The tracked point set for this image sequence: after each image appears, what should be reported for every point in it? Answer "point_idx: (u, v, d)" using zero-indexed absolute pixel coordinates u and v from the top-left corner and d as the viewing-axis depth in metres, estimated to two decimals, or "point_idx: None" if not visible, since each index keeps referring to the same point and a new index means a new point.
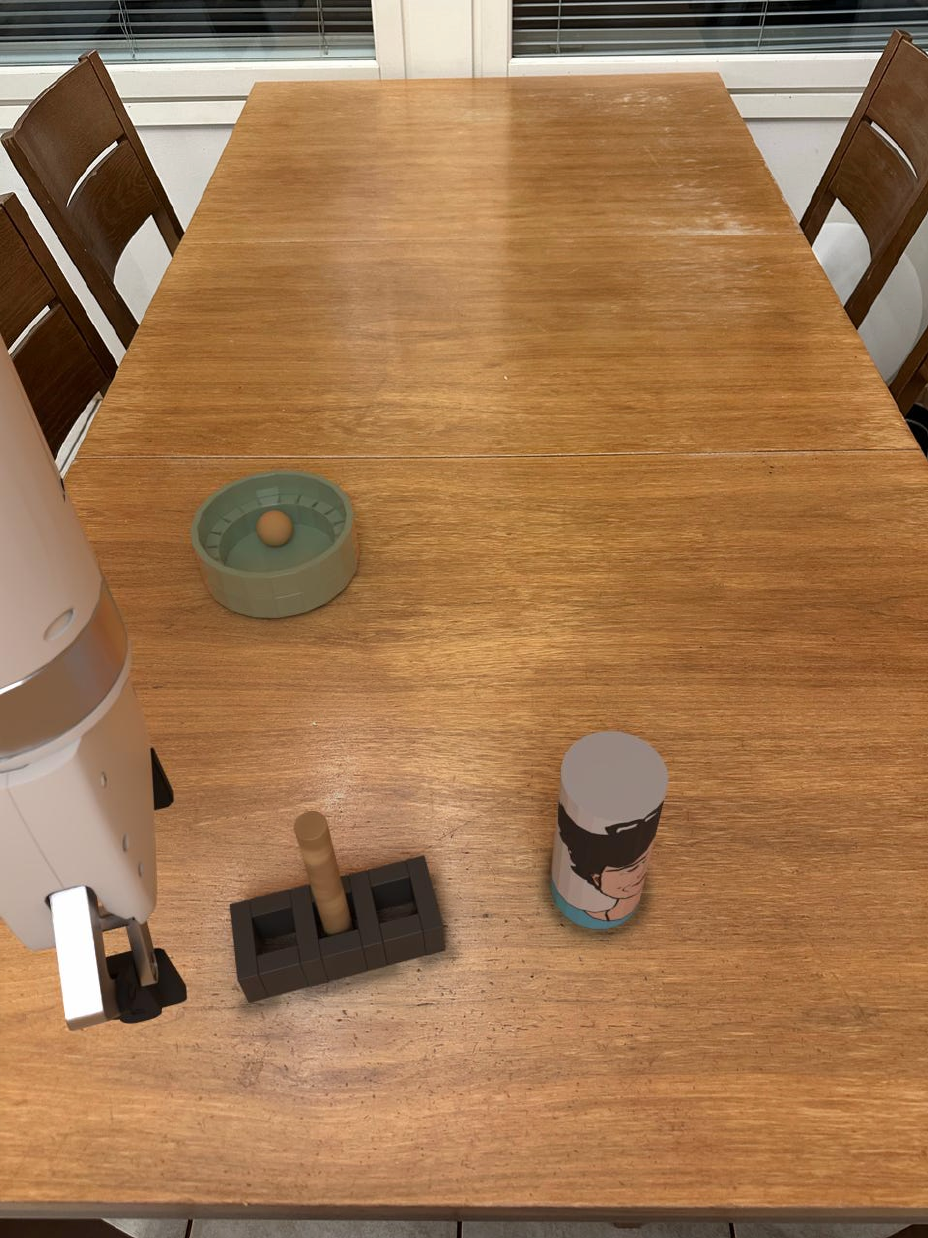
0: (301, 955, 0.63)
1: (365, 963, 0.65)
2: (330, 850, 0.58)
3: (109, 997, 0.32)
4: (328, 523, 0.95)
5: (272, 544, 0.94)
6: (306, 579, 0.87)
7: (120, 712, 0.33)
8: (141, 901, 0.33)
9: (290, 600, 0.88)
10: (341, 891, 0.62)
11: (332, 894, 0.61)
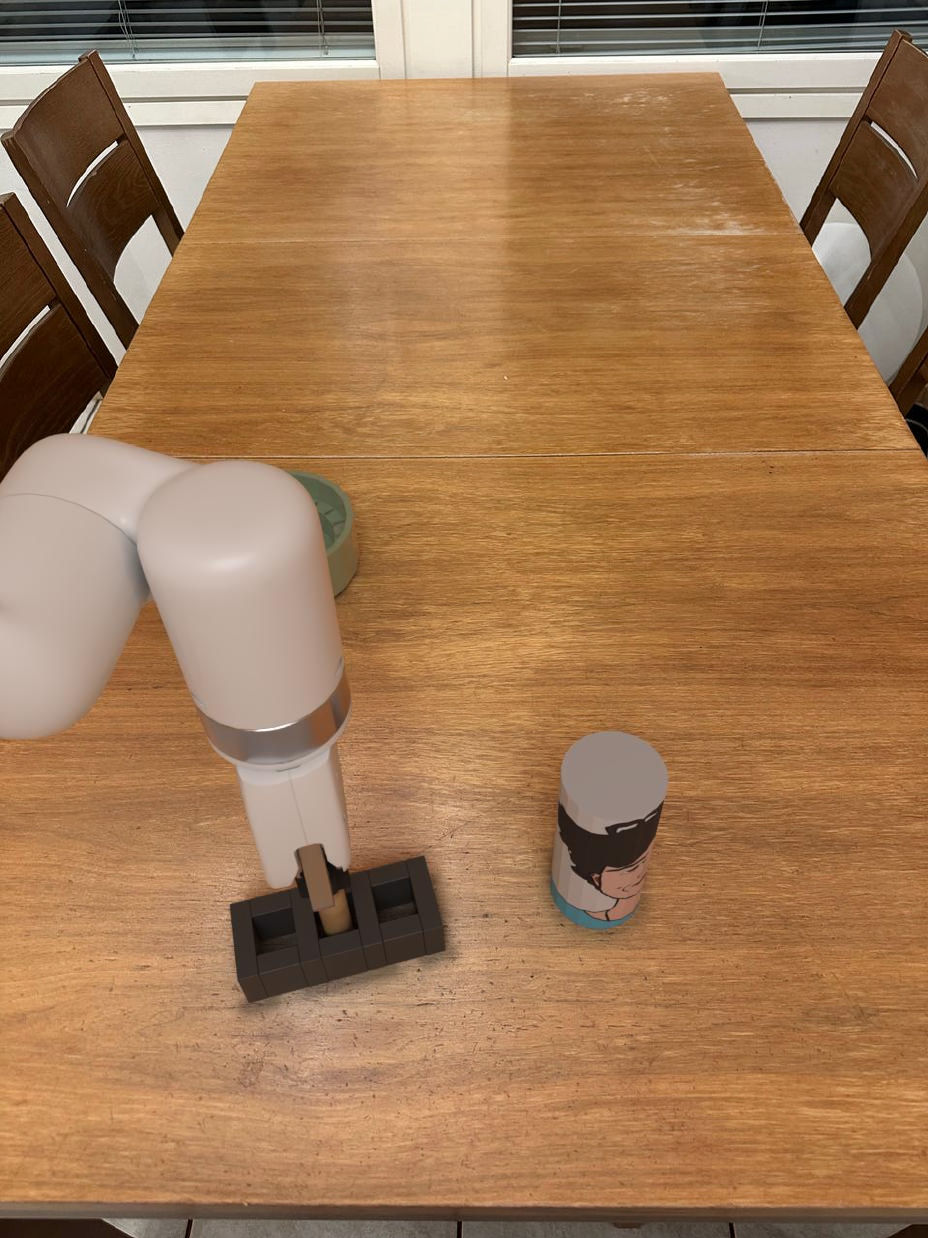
0: (301, 955, 0.63)
1: (365, 963, 0.65)
2: None
3: (331, 889, 0.52)
4: (328, 523, 0.95)
5: None
6: None
7: None
8: (347, 855, 0.51)
9: None
10: (341, 891, 0.62)
11: None
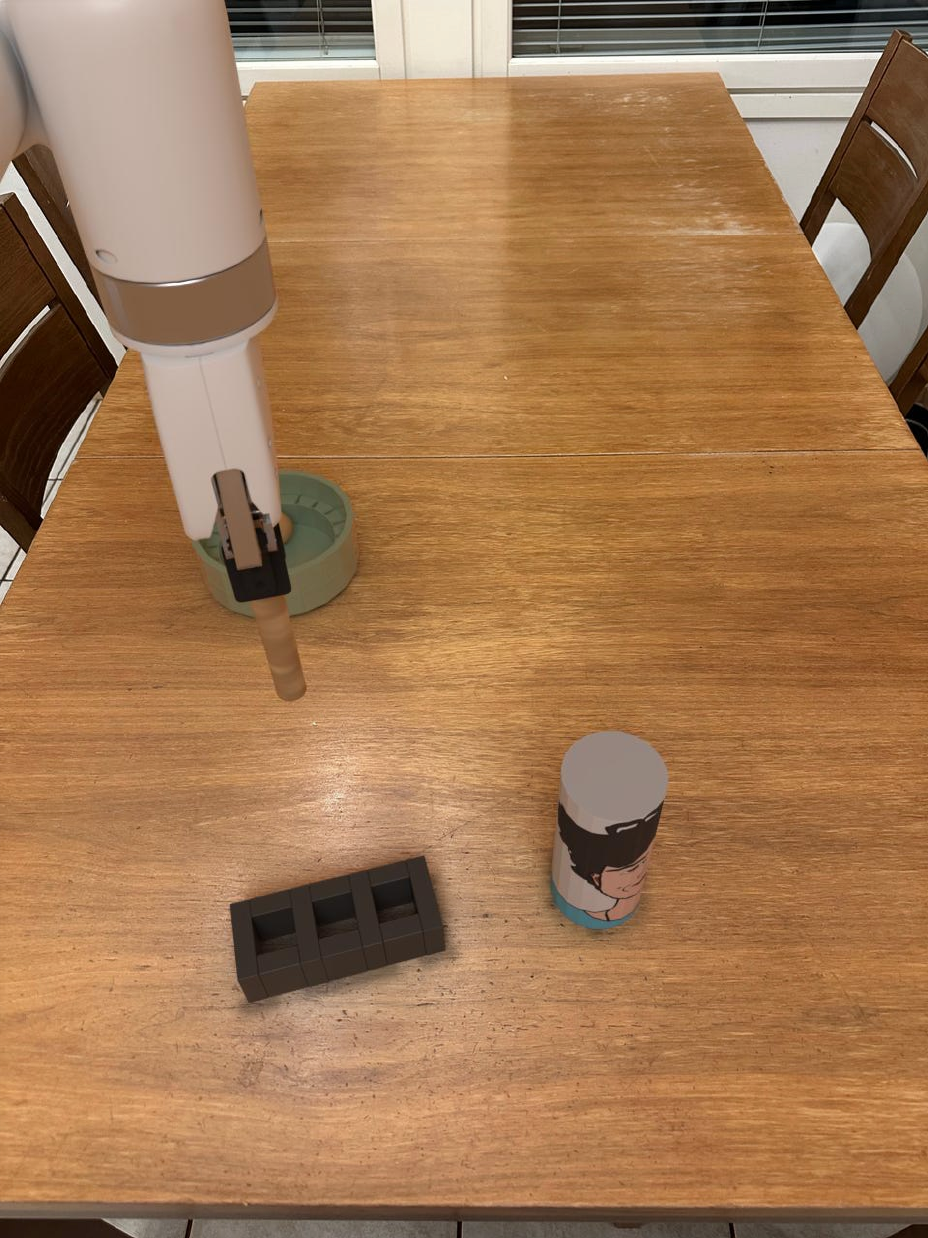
0: (301, 955, 0.63)
1: (365, 963, 0.65)
2: None
3: (259, 548, 0.47)
4: (328, 523, 0.95)
5: None
6: (306, 579, 0.87)
7: (262, 360, 0.45)
8: (275, 499, 0.45)
9: (290, 600, 0.88)
10: (284, 610, 0.57)
11: (274, 608, 0.56)
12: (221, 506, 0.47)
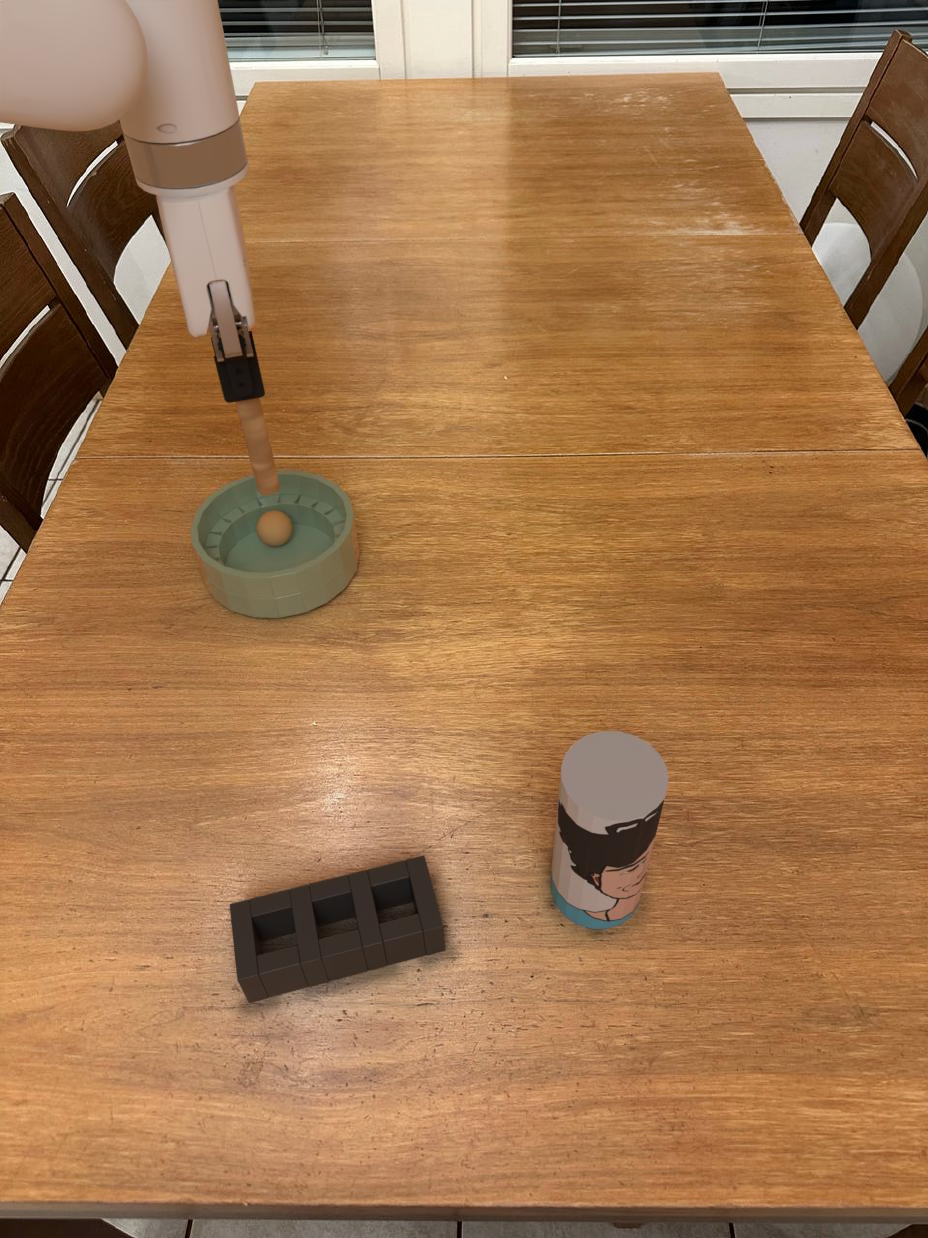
0: (301, 955, 0.63)
1: (365, 963, 0.65)
2: None
3: None
4: (328, 523, 0.95)
5: (272, 544, 0.94)
6: (306, 579, 0.87)
7: None
8: (250, 305, 0.66)
9: (290, 600, 0.88)
10: (261, 414, 0.78)
11: (253, 410, 0.77)
12: (213, 315, 0.68)
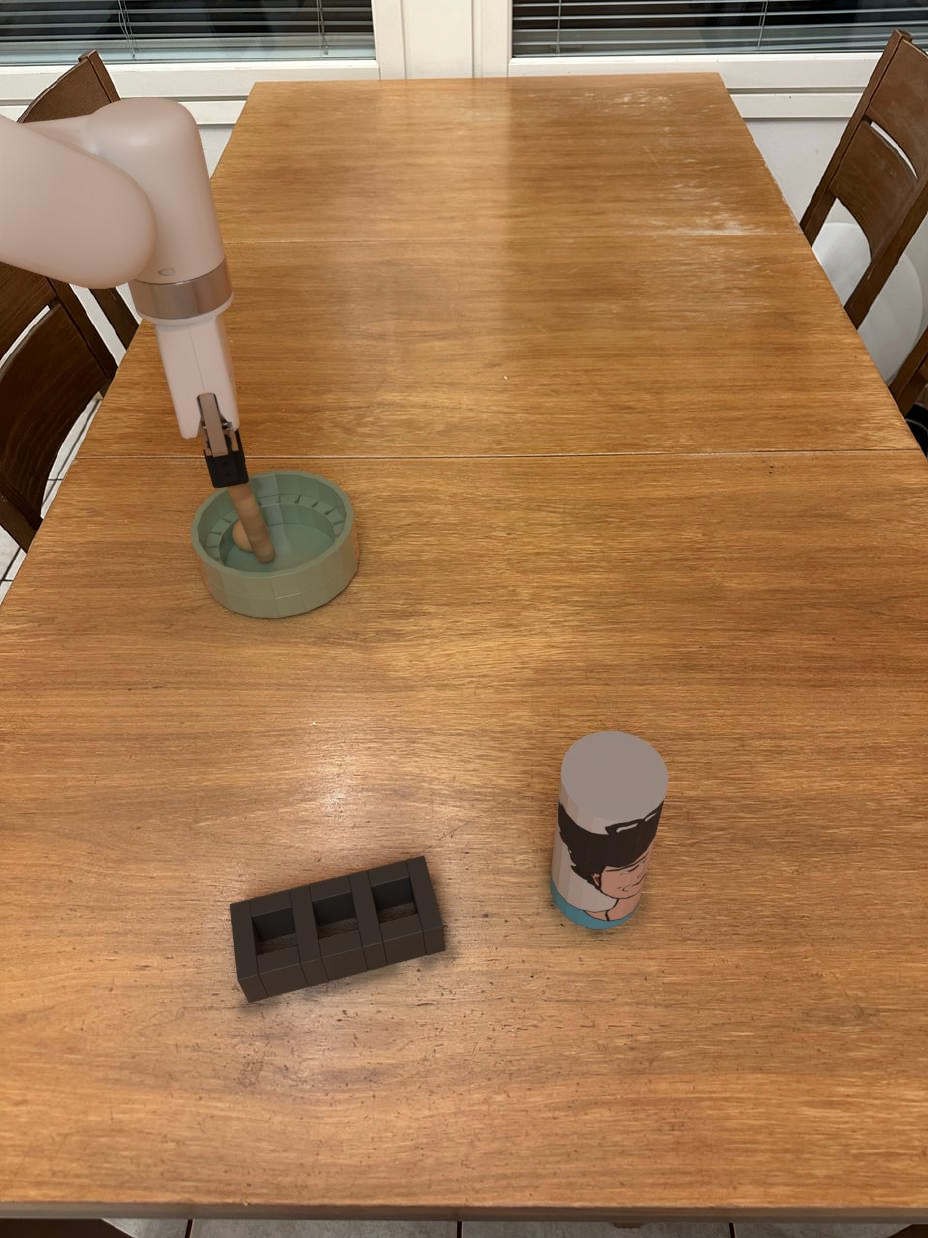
0: (301, 955, 0.63)
1: (365, 963, 0.65)
2: None
3: (226, 444, 0.77)
4: (328, 523, 0.95)
5: (236, 544, 0.94)
6: (306, 579, 0.87)
7: None
8: (235, 412, 0.75)
9: (290, 600, 0.88)
10: (249, 496, 0.87)
11: (240, 493, 0.86)
12: (202, 419, 0.77)
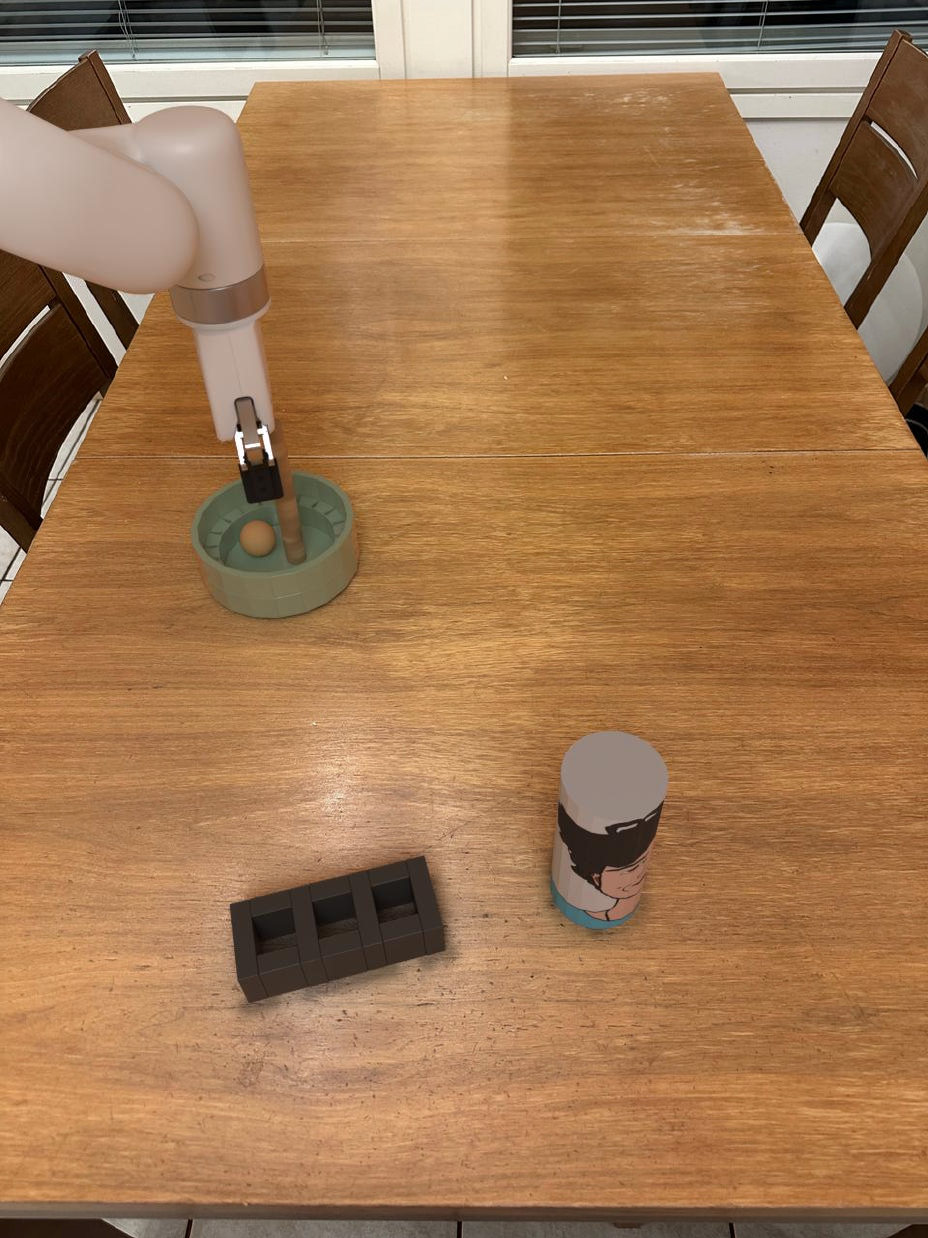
0: (301, 955, 0.63)
1: (365, 963, 0.65)
2: (283, 450, 0.84)
3: (260, 445, 0.75)
4: (328, 523, 0.95)
5: (242, 546, 0.93)
6: (306, 579, 0.87)
7: None
8: (270, 415, 0.76)
9: (290, 600, 0.88)
10: (292, 498, 0.88)
11: (285, 495, 0.87)
12: (236, 415, 0.76)
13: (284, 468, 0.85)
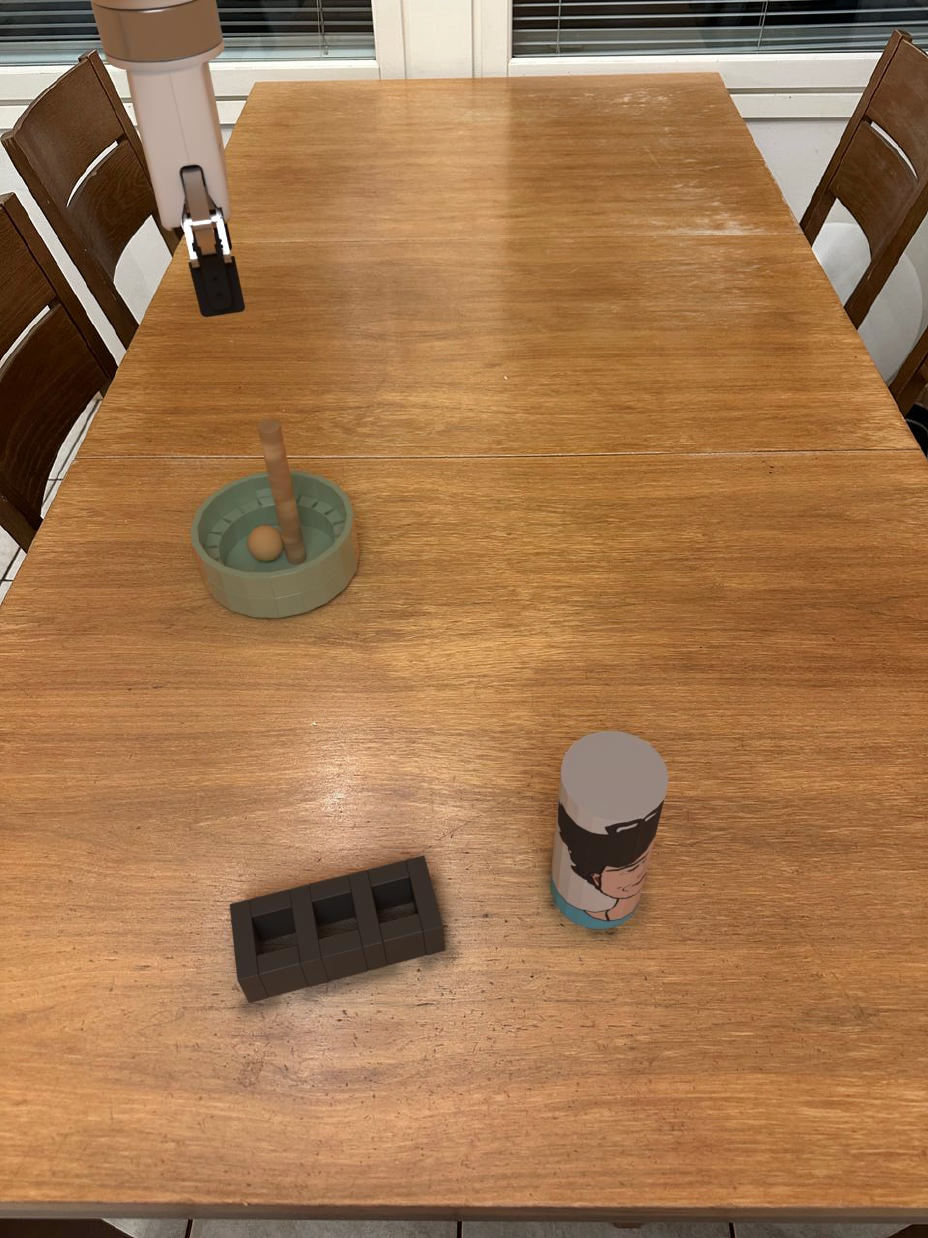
0: (301, 955, 0.63)
1: (365, 963, 0.65)
2: (281, 451, 0.84)
3: None
4: (328, 523, 0.95)
5: (249, 549, 0.92)
6: (306, 579, 0.87)
7: None
8: (225, 195, 0.63)
9: (290, 600, 0.88)
10: (292, 498, 0.88)
11: (284, 495, 0.87)
12: (184, 195, 0.63)
13: (283, 469, 0.85)
